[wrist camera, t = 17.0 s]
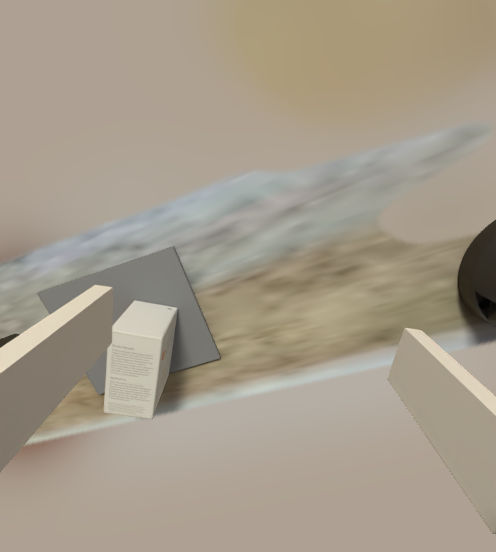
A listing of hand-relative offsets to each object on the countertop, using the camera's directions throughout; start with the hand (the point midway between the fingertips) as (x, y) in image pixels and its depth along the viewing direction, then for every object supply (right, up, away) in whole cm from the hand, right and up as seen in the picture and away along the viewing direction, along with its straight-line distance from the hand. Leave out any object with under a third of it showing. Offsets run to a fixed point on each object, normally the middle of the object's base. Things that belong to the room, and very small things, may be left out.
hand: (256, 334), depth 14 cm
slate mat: (-15, -4, +26) cm, 30 cm away
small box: (-14, -12, +24) cm, 30 cm away
